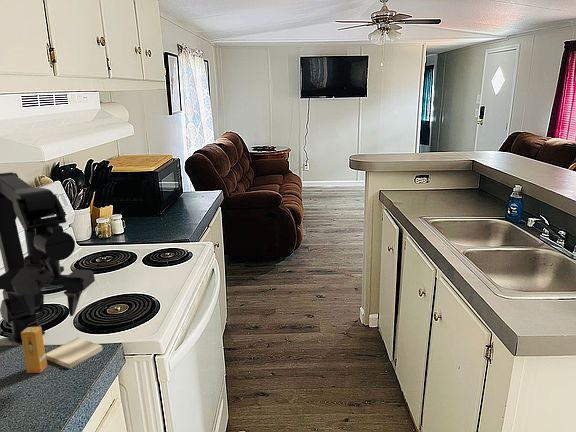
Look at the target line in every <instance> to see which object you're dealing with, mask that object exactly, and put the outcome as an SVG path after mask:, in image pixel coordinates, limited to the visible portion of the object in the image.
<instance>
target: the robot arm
mask: <svg viewBox="0 0 576 432" xmlns="http://www.w3.org/2000/svg"><path fill="white" fill-rule="evenodd" d="M63 207H64V206H63V205H62V204H61V201H60V200H59V198H58V197H57V195H56V194H55V193H54V192H53V191H52V190H51V189H49V188H45V187H33V186H31V185H30V184H28V183H27V182H25V181H24V180H23V179H21V178H20V177H19V176H18V173H16V172H3V173H2V172H1V173H0V254H1V259H2V262H3V267H4V273H2V274H1V275H0V290H2V296H3V297H2V298H3V299H2V300H1V304H0V315H1V318H2V319H3V320H4V321H5V323H7V324H8V323H9V324H10V323H11V330H12V334H10V335H8V336H7V340H9V341H12V342H15V343H17V344H19V345H23V343H22V337H21V332H22V331H23V330H25V329H26V328H27V327H39V323H38V317H37V314H39V313H42V312H44V307H45V300H44V299H45V295H44V293H43V292H42V289H43V288H49V287H50V286H51V284H55V285H56V284H58V285H59V284H60V285H61V284H62V285H63V288H64V289H65V291H63V294H64V295H65V296H66V297H67V307H68V313H69V317H73V316H74V315H75V313H76V309H77V307H78V305H79V301H80V298H81V296H82V293H83V291H85V290H86V289H88V287H89V286H91V285H92V284H94V282H95V281H96V280H95V279H96V278H95V273H94V272H93V271H92V270H91V269H74V270H73V271H72V272H71V273H69V274H62V273H63V272H64V271H65V267H64V266H63V265H61V264H60V262H61V261H63V260H65V259H68V258H69V257H70V256H72V255H73V252H74V251H75V249H76V241H75V239H74V237H73V236H72V235H71V234H69V233H67V232H66V231H64V229H63V228H64V227H63V226H62V225H60V224H65V223H67V219H66V215H67V214H66V211H65V210H64V208H63ZM17 219H18V221H19V222H20V224H21V226H22V229H23V230H24V231H23V232H24V237H25V244H26V250H27V255H26V256H25V257H24V253H23V249H22V244H21V240H20V236H19V230H18V226H17V221H16V220H17ZM45 334H46V331H45V330H43V329H42V336H43V335H45Z"/></svg>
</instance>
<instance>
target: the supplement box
mask: <svg viewBox="0 0 576 432" xmlns="http://www.w3.org/2000/svg"><path fill="white" fill-rule="evenodd" d="M42 330H43V329H42V326H38V327H27V328H26V329H25V330H23V331H22V332H21V337H22V343H23V344H22V348H23V354H24V362H25V367H26V373H27V374H35V373H38V374H39V373H42V372H43V371H44V370H45V369H46V368H47V366H48V360H47V359H46V350H45V349H46V348H45V342H44V337H43V335H42Z"/></svg>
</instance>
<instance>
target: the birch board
mask: <svg viewBox="0 0 576 432" xmlns="http://www.w3.org/2000/svg"><path fill="white" fill-rule="evenodd" d="M103 350H104V349H103V345H101V344H98V343H96V342H92V341H91V340H90V341H89V340H87V339H84V338H81V337H79V336H78V337H76V338H74V339H72V340H69V341H68V342H66V343H64V344H61V345H60V346H58V347H56V348H55V349H52V350H51V351H48V352H45V354H46V361H50V362H52V363H54V364H56V365H60V366H62V367H64V368H66V369H72V368H74V367H76V366H77V365H79V364H81V363H83V362H85V361H86V360H88V359H90V358H91V357H93V356H95V355H97V354H99V353H100V352H102V351H103Z"/></svg>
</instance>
